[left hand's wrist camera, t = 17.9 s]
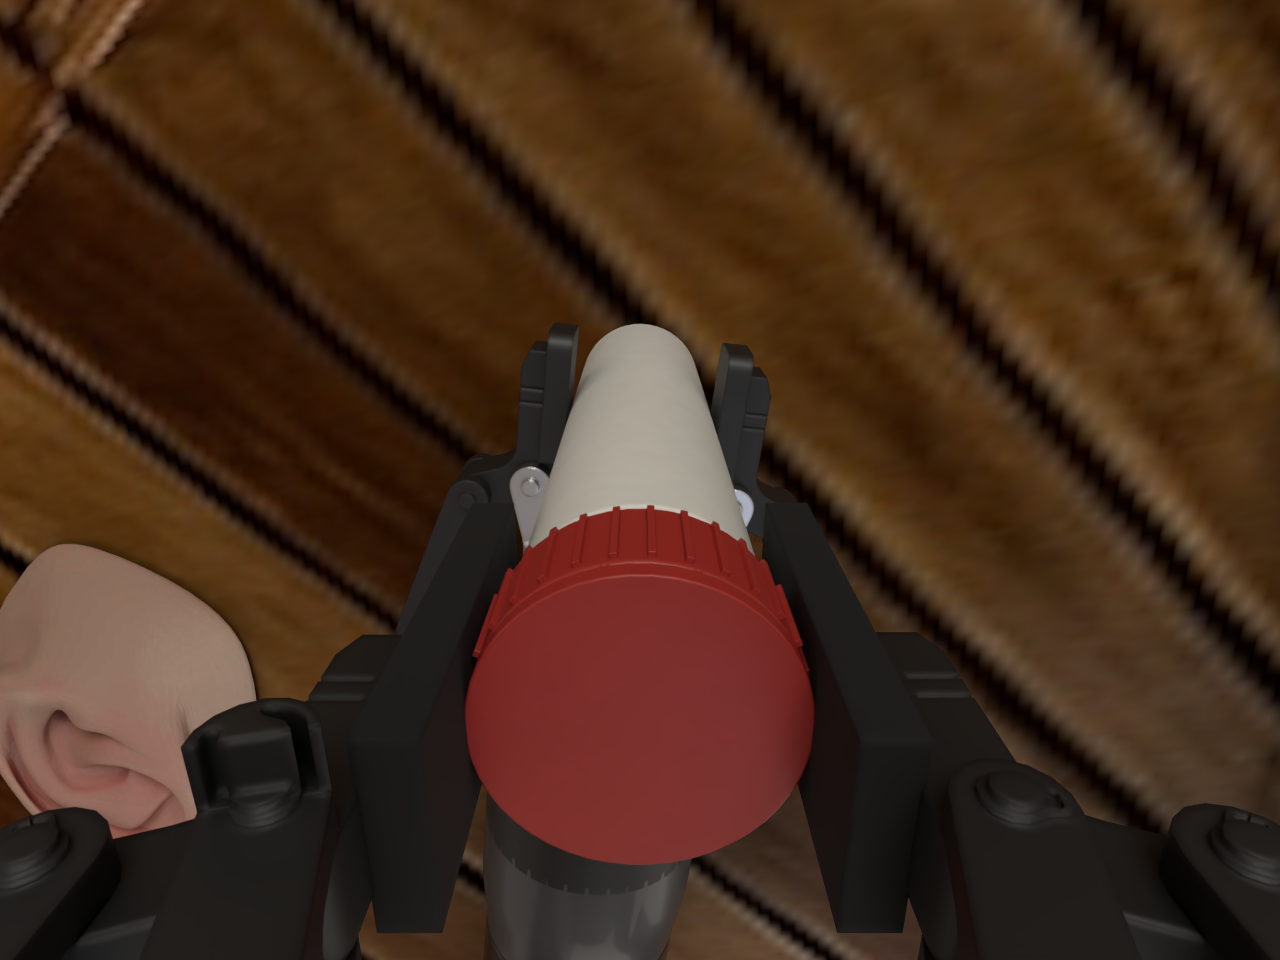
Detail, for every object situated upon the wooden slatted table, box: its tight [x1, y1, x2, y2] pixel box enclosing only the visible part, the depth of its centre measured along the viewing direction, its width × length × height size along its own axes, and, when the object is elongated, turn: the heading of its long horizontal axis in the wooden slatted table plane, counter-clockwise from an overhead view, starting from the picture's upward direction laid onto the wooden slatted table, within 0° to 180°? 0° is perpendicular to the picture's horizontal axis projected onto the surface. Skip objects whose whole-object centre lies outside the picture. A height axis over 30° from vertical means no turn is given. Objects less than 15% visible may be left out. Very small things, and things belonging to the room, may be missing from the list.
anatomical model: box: [0, 544, 256, 839], centre depth 32 cm, size 13×4×12 cm
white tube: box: [528, 324, 755, 556], centre depth 20 cm, size 4×4×19 cm
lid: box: [465, 505, 815, 865], centre depth 11 cm, size 5×5×2 cm
